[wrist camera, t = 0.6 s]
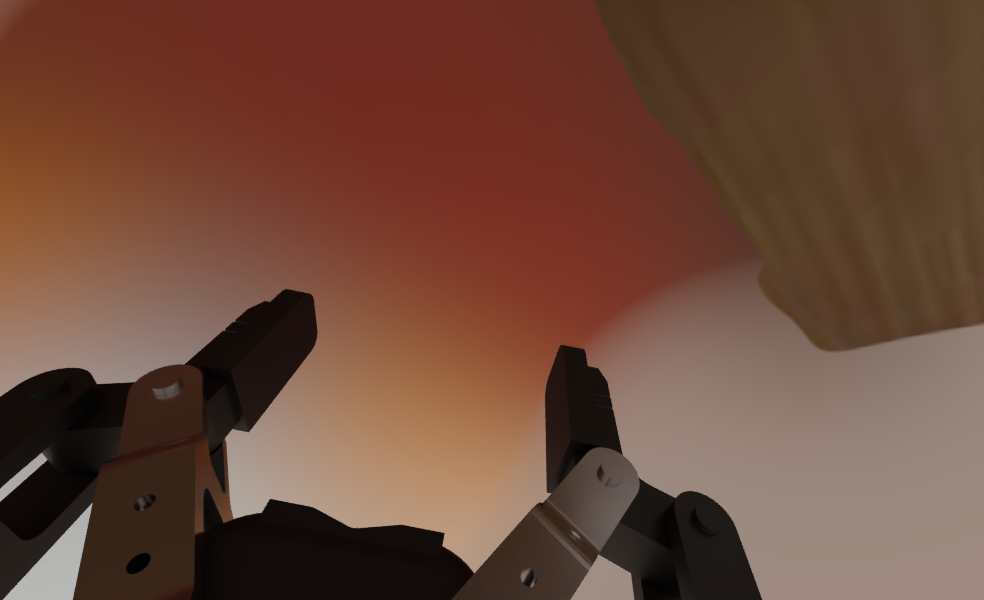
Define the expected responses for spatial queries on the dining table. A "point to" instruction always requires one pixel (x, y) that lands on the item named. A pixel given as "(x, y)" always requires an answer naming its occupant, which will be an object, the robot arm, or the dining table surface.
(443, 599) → the robot arm
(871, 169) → the dining table surface
